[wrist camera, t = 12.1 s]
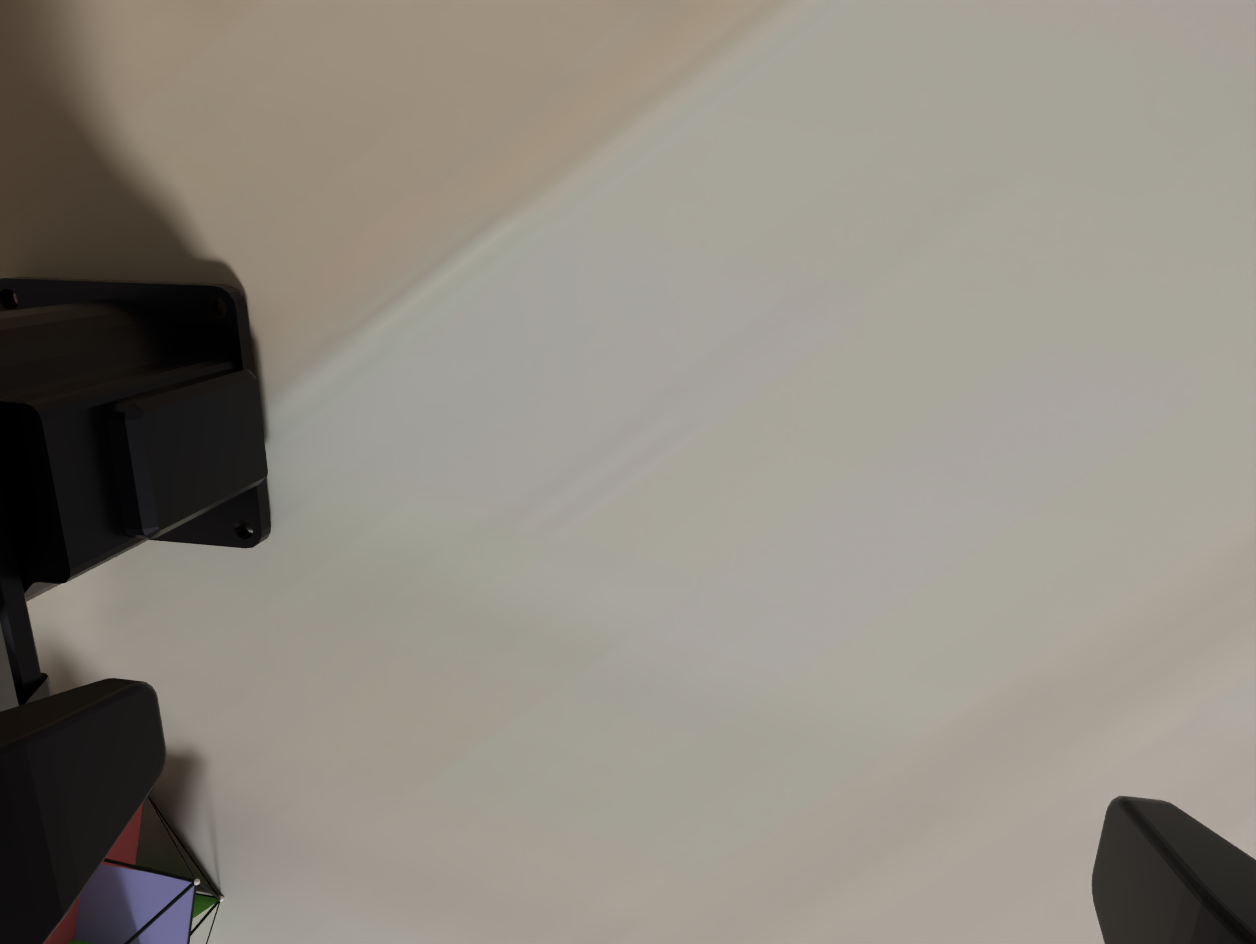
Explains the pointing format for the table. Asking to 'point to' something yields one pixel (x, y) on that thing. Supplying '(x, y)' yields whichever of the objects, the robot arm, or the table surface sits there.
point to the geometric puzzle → (135, 900)
